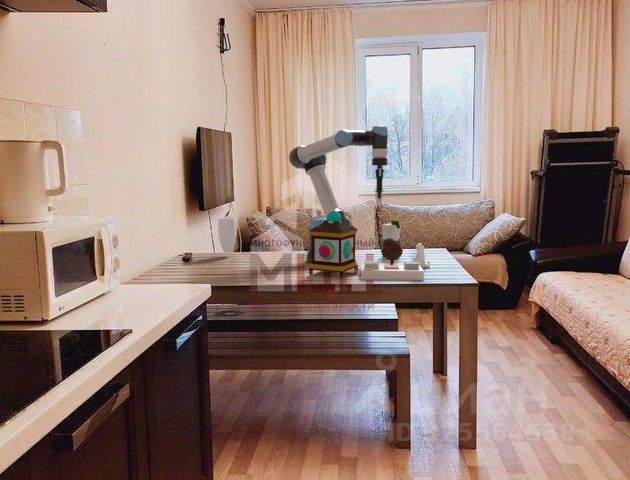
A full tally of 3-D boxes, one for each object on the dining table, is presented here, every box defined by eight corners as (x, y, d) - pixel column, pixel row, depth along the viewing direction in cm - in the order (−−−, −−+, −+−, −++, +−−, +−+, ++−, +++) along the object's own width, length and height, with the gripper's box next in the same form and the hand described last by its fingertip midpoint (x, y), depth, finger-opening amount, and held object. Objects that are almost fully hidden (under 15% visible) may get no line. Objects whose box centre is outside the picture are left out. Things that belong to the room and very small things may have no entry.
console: (361, 279, 254) (361, 269, 253) (360, 273, 267) (360, 263, 267) (423, 279, 252) (423, 269, 251) (419, 273, 266) (420, 264, 265)
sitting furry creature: (429, 268, 278) (430, 244, 276) (411, 268, 280) (412, 244, 278) (429, 265, 287) (430, 241, 285) (412, 264, 289) (413, 241, 287)
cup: (241, 256, 316) (240, 217, 313) (228, 258, 307) (227, 219, 304) (227, 254, 322) (226, 216, 319) (214, 257, 313) (213, 218, 310)
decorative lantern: (343, 279, 253) (343, 212, 249) (304, 275, 262) (304, 210, 258) (361, 272, 270) (362, 209, 266) (325, 268, 280) (325, 207, 276)
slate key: (405, 273, 256) (405, 263, 255) (404, 271, 262) (404, 261, 261) (418, 273, 256) (418, 263, 255) (417, 271, 262) (417, 261, 261)
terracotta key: (385, 277, 257) (385, 267, 256) (384, 274, 263) (384, 264, 262) (398, 277, 257) (398, 267, 256) (397, 274, 262) (397, 264, 262)
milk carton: (394, 258, 306) (395, 221, 303) (379, 257, 311) (380, 220, 308) (402, 256, 313) (402, 220, 310) (387, 254, 318) (388, 219, 315)
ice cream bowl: (389, 271, 271) (389, 240, 269) (376, 267, 281) (376, 237, 279) (407, 269, 276) (407, 238, 274) (393, 265, 286) (394, 236, 284)
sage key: (365, 273, 257) (365, 263, 257) (364, 270, 263) (364, 261, 263) (378, 273, 257) (378, 263, 256) (377, 270, 263) (378, 261, 262)
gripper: (388, 157, 275) (387, 206, 279) (386, 157, 288) (385, 203, 292) (372, 157, 276) (372, 205, 279) (371, 157, 289) (371, 203, 292)
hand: (379, 204), depth 285 cm, fingers closed
